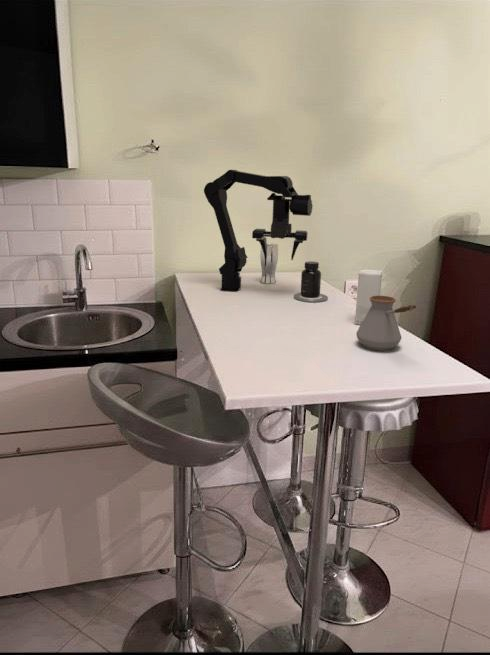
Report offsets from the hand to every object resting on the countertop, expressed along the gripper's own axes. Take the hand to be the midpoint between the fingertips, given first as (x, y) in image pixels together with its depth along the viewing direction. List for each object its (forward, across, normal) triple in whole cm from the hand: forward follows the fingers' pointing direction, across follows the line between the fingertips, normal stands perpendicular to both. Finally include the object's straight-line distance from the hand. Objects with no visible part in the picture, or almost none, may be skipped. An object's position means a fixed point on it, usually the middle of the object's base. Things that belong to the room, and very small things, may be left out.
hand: (278, 259), depth 181 cm
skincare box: (+13, +30, -26) cm, 42 cm away
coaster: (+13, +12, -1) cm, 18 cm away
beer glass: (+13, -6, +20) cm, 25 cm away
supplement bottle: (+12, +12, -1) cm, 17 cm away
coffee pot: (+13, +34, -52) cm, 64 cm away
